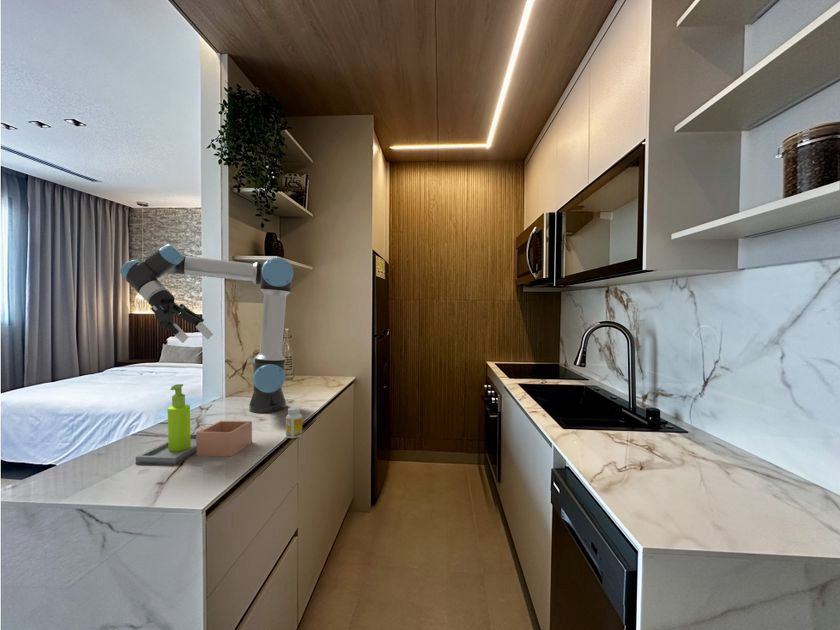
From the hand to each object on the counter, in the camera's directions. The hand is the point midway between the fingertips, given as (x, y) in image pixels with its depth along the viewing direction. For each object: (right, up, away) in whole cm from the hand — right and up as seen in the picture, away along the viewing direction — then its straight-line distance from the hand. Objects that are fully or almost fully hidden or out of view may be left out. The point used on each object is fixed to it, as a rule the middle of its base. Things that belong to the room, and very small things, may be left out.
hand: (198, 338), depth 137 cm
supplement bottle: (+35, -34, -4) cm, 49 cm away
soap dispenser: (+4, -33, -18) cm, 38 cm away
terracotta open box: (+18, -34, -15) cm, 41 cm away
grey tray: (+4, -34, -17) cm, 39 cm away
